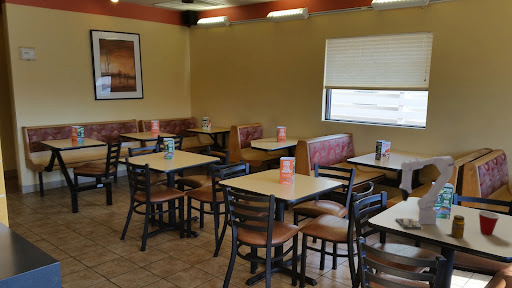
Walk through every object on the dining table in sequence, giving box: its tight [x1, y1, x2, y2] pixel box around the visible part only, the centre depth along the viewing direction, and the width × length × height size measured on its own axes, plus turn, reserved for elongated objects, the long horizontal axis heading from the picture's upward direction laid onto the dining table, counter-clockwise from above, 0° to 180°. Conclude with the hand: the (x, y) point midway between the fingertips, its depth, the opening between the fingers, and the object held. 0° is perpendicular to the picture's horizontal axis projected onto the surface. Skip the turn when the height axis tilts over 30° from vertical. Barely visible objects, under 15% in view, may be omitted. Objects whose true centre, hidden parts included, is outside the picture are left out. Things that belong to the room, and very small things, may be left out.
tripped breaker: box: [403, 219, 409, 225], centre depth 232 cm, size 2×3×3 cm, turn 0°
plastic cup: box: [478, 210, 501, 236], centre depth 225 cm, size 11×11×12 cm
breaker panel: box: [395, 217, 422, 230], centre depth 237 cm, size 10×14×2 cm
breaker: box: [411, 218, 418, 225], centre depth 232 cm, size 2×3×3 cm, turn 0°
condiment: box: [444, 214, 467, 240], centre depth 219 cm, size 7×8×12 cm
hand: (404, 200), depth 253 cm, fingers closed
